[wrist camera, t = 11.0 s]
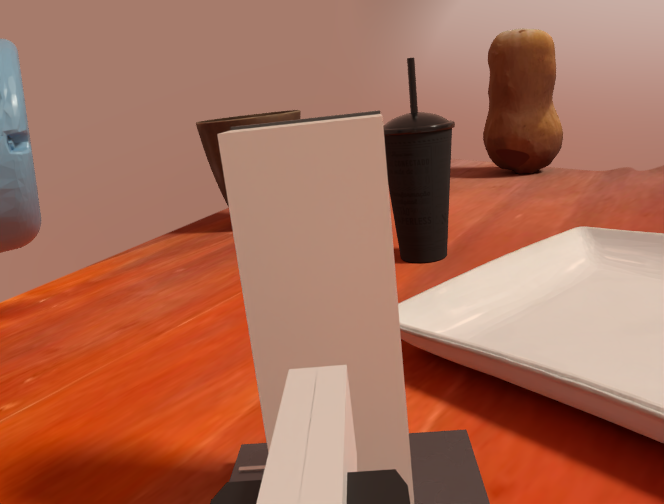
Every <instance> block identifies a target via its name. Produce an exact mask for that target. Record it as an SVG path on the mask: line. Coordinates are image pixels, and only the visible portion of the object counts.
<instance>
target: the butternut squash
mask: <svg viewBox="0 0 664 504" xmlns="http://www.w3.org/2000/svg"><path fill="white" fill-rule="evenodd" d="M488 64H489V68H490V82H489V90H488V94H489V112H488V116H487V120H486V124H485V129H484V133H483V138H484V139H483V140H484V144H485V147H486V150H487V152H488V155H489V157H490V158H491V160H492V161H493V162H494V163H495V164H496V165H497V166H498V167H500V168H502V169H508V170H513V171H515V172H516V173H518V174H523V173H529V174H532V173H534V172H535V171H536V170H538V169H541V168H544V167H546V166H548V165H549V164H550V163H551V162H552V160H553V159H554V158H555V157H556V155H557V154H558V153H559V151H560V149H561V145H562V140H563V131H562V126H561V123H560V120H559V117H558V115H557V113H556V110H555V108H554V105H553V101H552V95H553V90H554V85H555V79H556V62H555V48H554V42H553V40H552V37H551V36H550V35H549V34H548V33H546V32H544V31H541V30H536V29H515V30H512V31H505V32H502V33H500V34H499V35H498V36H497V37H496V38H495V39H494V40H493V42H492V44H491V47H490V49H489V52H488Z"/></svg>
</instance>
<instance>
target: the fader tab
mask: <svg viewBox="0 0 664 504" xmlns="http://www.w3.org/2000/svg"><path fill="white" fill-rule="evenodd" d="M230 128H231V130H230V131H227V132H223V133H220V134H217V136H218V142H219V148H220V155H221V161H222V167H223V173H224V179H225V186H226V192H227V198H228V204H229V211H230V217H231V223H232V229H233V235H234V242H235V248H236V254H237V260H238V267H239V273H240V279H241V285H242V291H243V298H244V304H245V310H246V316H247V322H248V329H249V335H250V341H251V347H252V354H253V360H254V366H255V372H256V378H257V385H258V391H259V397H260V403H261V409H262V416H263V422H264V428H265V434H266V441H267V447H268V453H269V450H270V445H271V441H272V437H273V433H274V429H275V425H276V421H277V417H278V413H279V408H280V404H281V400H282V396H283V392H284V388H285V384H286V380H287V376H288V371H289V369H299V368H312V367H324V366H337V365H347V372H348V381H349V390H350V399H351V408H352V417H353V426H354V434H355V443H356V452H357V472H360V471H374V470H389V469H396V471H397V472H398V473H399V474H400V476H401V477H402V478H403V480H404V481H405V482H406V484H407V485H408V490H409V498H410V504H414V492H413V480H412V468H411V456H410V444H409V432H408V419H407V407H406V395H405V383H404V371H403V359H402V346H401V334H400V322H399V310H398V298H397V286H396V274H395V261H394V249H393V237H392V225H391V213H390V201H389V188H388V176H387V164H386V152H385V140H384V128H383V117H382V115H381V114H380V111H372V112H362V113H353V114H344V115H335V116H326V117H318V118H308V119H299V120H290V121H281V122H272V123H263V124H253V125H244V126H235V127H230Z"/></svg>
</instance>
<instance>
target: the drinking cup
mask: <svg viewBox="0 0 664 504" xmlns="http://www.w3.org/2000/svg"><path fill="white" fill-rule="evenodd" d="M407 63H408V77H409V92H410V108H411V113H409V114H405V115H402V116H399V117H397V118H395V119H392V120H391V121H389V122H388V123H387V124H385V125H384V126H383V128H384V140H385V152H386V164H387V176H388V185H389V191H390V197H391V202H392V208H393V214H394V220H395V226H396V232H397V237H398V243H399V249H400V255H401V259H402V260H404V261H406V262H412V263H428V262H434V261H438V260H441V259H443V258H445V257H446V256H447V239H448V214H449V188H450V163H451V138H452V128H453V127H454V125H455V123H454V121H448V120H447V119H445V118H443V117H441V116H439V115H436V114H431V113H424V112H418V109H417V93H416V78H415V63H414V58H408V59H407Z"/></svg>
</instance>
